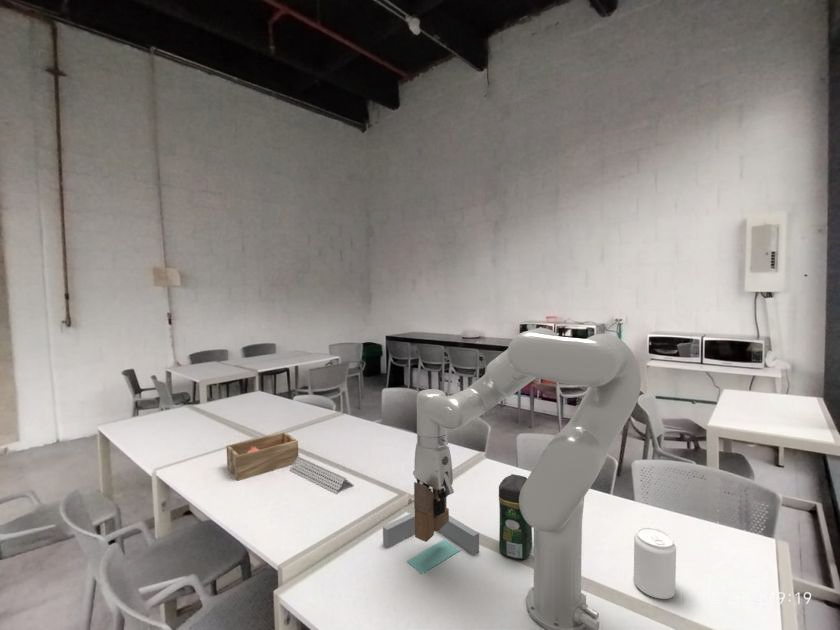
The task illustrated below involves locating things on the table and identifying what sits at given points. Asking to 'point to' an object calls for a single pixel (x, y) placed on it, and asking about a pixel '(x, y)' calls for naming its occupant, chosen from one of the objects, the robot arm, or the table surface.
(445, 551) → the pad
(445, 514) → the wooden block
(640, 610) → the table surface
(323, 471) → the corner bead
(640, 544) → the beverage can
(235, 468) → the box
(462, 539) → the corner wall
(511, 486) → the coffee jar
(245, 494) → the table surface
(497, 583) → the table surface
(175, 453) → the table surface
